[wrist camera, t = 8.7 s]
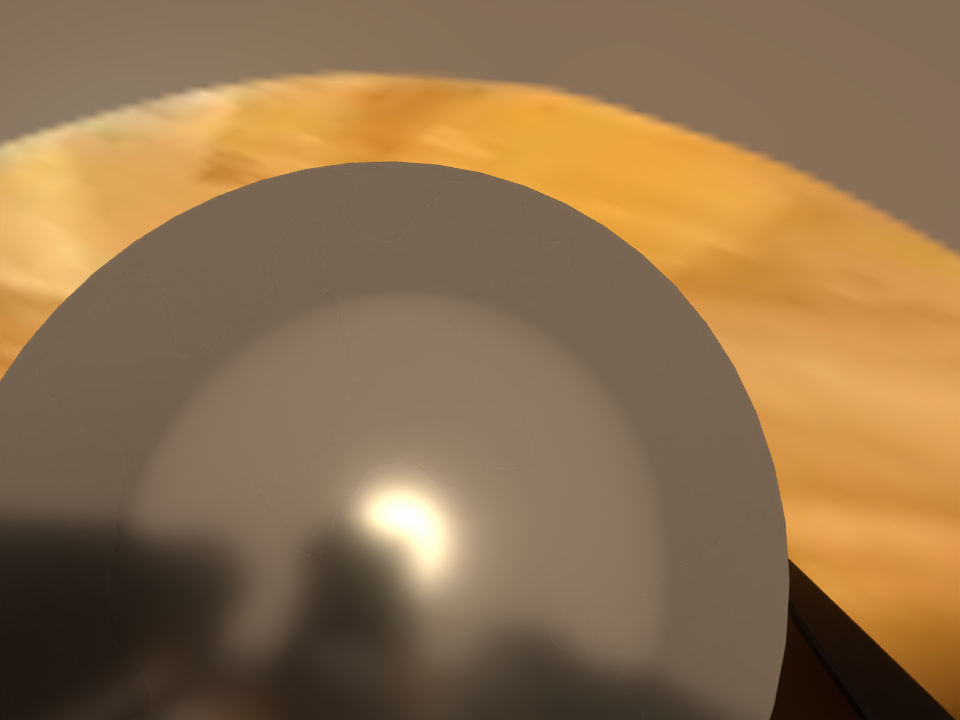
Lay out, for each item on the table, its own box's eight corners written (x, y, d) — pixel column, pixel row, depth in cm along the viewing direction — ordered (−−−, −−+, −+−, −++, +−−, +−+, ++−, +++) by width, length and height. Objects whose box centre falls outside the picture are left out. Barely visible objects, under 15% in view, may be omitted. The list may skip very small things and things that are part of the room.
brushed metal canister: (466, 797, 15) (378, 1427, 3) (263, 596, 17) (-249, 565, 5) (635, 559, 17) (944, 448, 5) (437, 400, 19) (346, 56, 7)
